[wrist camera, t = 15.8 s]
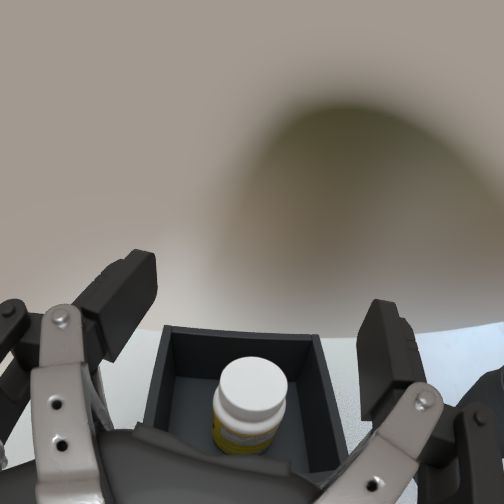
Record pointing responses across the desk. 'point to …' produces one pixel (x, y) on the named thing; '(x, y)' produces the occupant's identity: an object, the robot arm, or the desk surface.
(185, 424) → the bin
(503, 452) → the mug
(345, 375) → the desk surface
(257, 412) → the supplement bottle
